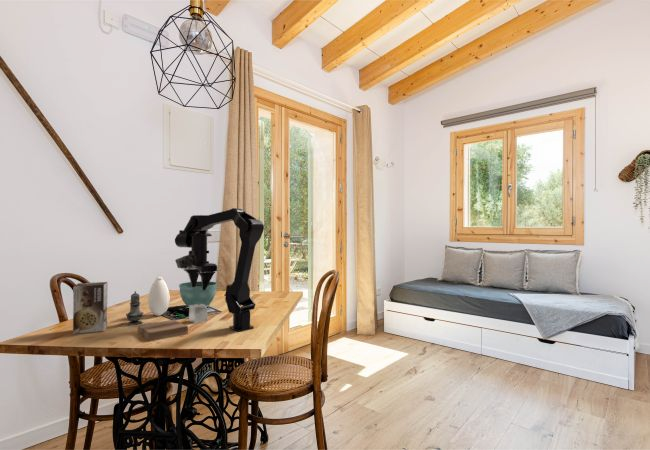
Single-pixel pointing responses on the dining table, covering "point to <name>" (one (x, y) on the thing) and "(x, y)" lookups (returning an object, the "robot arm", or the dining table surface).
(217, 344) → the dining table surface
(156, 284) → the white tall oval piece
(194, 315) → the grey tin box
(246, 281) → the robot arm
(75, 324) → the coffee box
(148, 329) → the walnut block
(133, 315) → the salt shaker
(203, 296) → the teal bowl
